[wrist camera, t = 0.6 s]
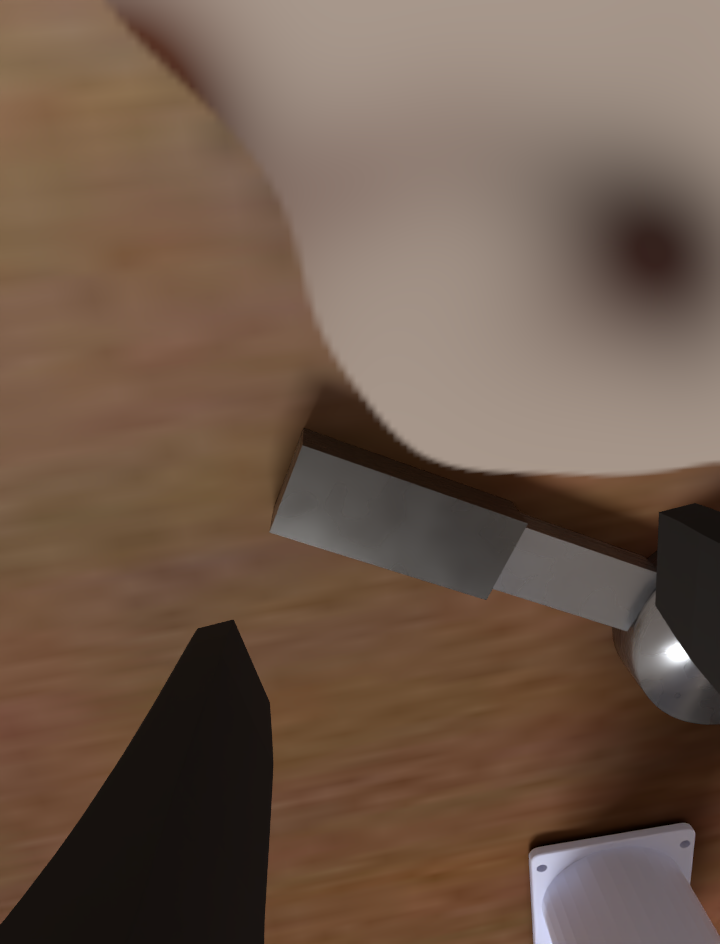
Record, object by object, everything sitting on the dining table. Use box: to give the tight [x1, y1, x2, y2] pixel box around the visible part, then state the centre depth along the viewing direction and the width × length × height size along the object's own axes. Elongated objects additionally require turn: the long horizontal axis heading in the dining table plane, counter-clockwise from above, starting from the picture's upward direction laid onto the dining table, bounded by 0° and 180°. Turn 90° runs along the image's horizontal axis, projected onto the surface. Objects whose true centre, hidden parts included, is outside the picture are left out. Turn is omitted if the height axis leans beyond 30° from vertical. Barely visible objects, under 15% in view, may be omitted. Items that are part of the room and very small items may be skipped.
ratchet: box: [270, 428, 720, 725], centre depth 20 cm, size 22×8×5 cm, turn 68°
